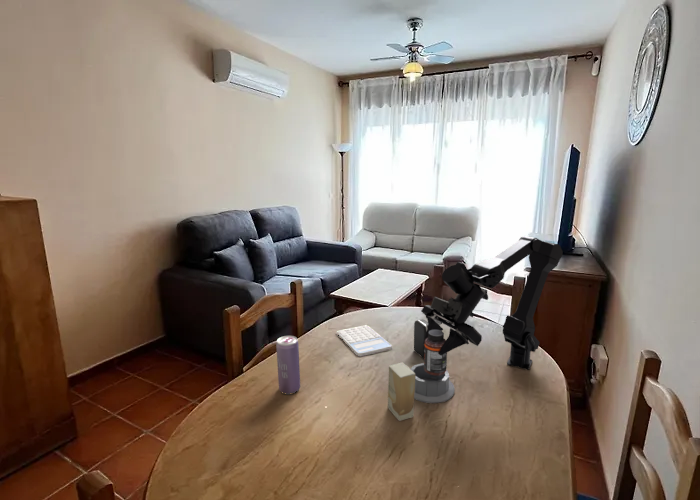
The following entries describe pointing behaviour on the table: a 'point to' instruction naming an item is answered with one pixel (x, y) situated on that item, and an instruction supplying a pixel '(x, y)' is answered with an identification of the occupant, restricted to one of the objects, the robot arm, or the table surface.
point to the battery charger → (420, 336)
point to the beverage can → (288, 364)
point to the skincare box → (401, 391)
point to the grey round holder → (432, 386)
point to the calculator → (364, 340)
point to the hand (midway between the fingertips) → (431, 349)
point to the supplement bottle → (434, 353)
